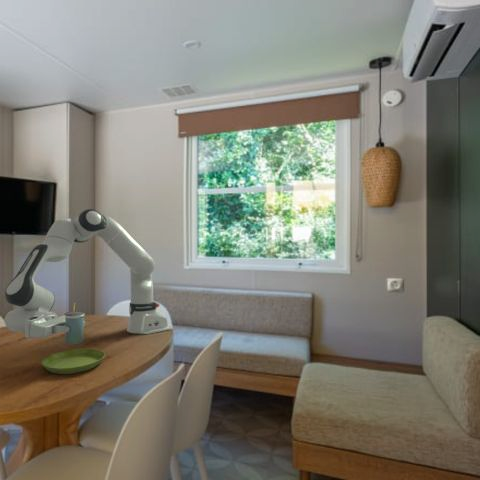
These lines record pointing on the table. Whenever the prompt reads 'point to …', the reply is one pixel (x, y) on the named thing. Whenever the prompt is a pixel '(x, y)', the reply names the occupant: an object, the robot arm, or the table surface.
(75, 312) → the cupcake
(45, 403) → the table surface
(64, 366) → the saucer
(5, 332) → the table surface
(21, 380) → the table surface
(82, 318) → the beaker
